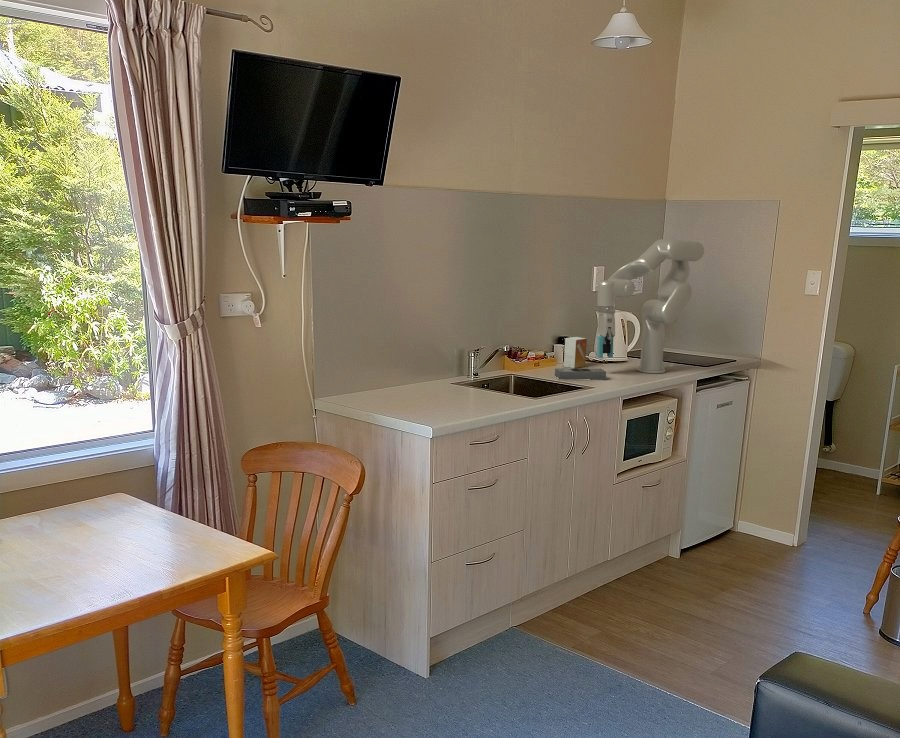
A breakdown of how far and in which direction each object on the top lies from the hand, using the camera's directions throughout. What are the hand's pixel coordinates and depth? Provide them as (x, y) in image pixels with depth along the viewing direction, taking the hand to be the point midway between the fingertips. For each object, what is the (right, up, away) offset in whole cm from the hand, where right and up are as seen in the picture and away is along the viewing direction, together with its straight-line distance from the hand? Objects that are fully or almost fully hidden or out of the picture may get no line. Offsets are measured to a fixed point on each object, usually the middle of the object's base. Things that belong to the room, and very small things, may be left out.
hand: (605, 352), depth 345 cm
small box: (-10, -6, +18) cm, 22 cm away
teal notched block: (0, -2, 0) cm, 2 cm away
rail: (-12, -11, -8) cm, 18 cm away
